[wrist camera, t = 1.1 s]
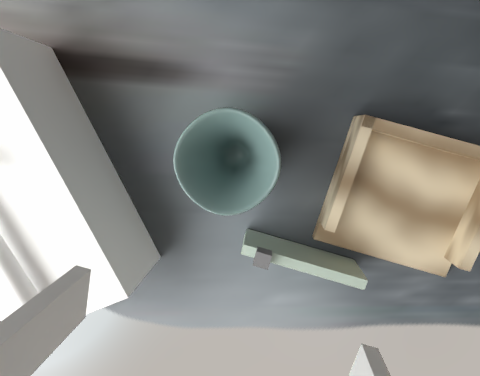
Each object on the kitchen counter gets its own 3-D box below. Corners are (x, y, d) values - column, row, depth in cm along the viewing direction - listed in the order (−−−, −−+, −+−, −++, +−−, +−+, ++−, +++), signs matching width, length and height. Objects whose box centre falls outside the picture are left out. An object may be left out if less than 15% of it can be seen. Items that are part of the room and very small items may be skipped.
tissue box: (53, 47, 31) (-60, 5, 20) (162, 256, 34) (115, 313, 24) (-51, 108, 33) (-202, 99, 22) (61, 297, 37) (-23, 366, 26)
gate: (247, 226, 32) (243, 247, 27) (354, 257, 32) (373, 285, 26) (243, 238, 33) (239, 261, 27) (350, 269, 32) (367, 299, 27)
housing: (353, 116, 29) (365, 114, 26) (494, 154, 29) (524, 158, 25) (312, 235, 32) (317, 248, 29) (439, 272, 32) (460, 290, 28)
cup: (291, 156, 31) (303, 170, 21) (235, 203, 32) (221, 236, 22) (243, 97, 30) (231, 83, 20) (187, 148, 31) (151, 157, 22)
